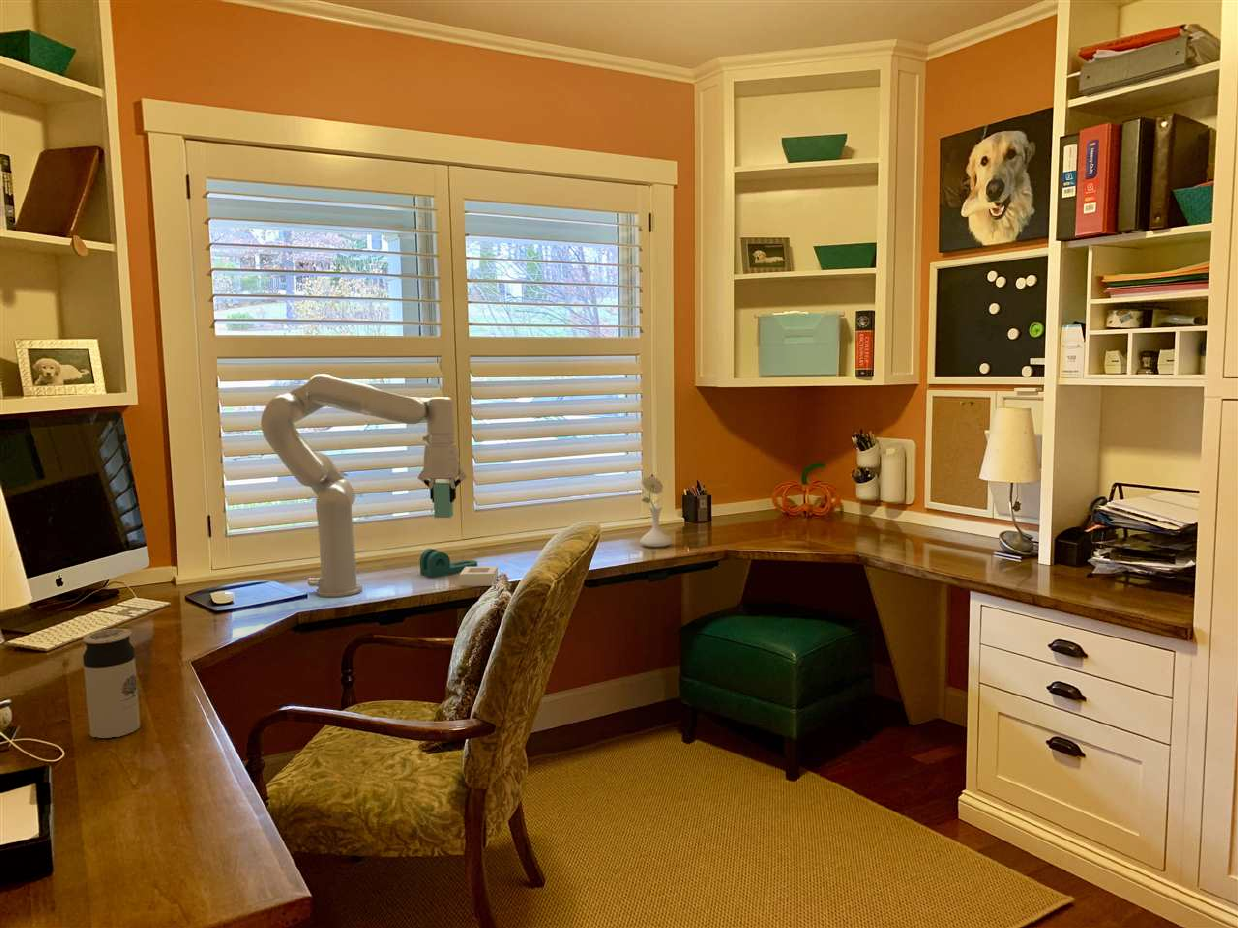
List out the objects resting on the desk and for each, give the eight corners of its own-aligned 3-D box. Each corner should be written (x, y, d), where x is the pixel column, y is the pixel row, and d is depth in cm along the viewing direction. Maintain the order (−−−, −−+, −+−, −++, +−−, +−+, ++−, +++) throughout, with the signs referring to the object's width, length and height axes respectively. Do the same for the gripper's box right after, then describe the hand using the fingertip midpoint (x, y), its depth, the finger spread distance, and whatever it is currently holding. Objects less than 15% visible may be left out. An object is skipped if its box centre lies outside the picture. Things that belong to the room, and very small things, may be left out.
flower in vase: (678, 546, 316) (677, 476, 314) (652, 550, 310) (651, 479, 307) (656, 541, 327) (655, 472, 324) (630, 545, 321) (629, 475, 318)
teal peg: (434, 518, 262) (433, 484, 261) (437, 515, 267) (436, 482, 266) (450, 518, 262) (448, 484, 261) (453, 515, 267) (451, 482, 266)
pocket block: (459, 585, 266) (459, 574, 265) (465, 577, 276) (465, 566, 275) (493, 585, 266) (493, 573, 265) (498, 577, 275) (497, 566, 275)
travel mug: (79, 736, 161) (70, 638, 159) (118, 720, 168) (110, 626, 166) (112, 742, 158) (103, 643, 156) (150, 725, 165) (142, 630, 163)
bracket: (430, 578, 276) (429, 553, 275) (420, 575, 281) (419, 550, 280) (481, 569, 288) (480, 545, 287) (470, 566, 293) (469, 542, 292)
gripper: (408, 441, 258) (411, 504, 260) (467, 440, 258) (469, 503, 260) (415, 439, 266) (417, 500, 268) (472, 438, 266) (474, 499, 268)
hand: (443, 501), depth 264 cm, fingers closed on teal peg, 4 cm apart
